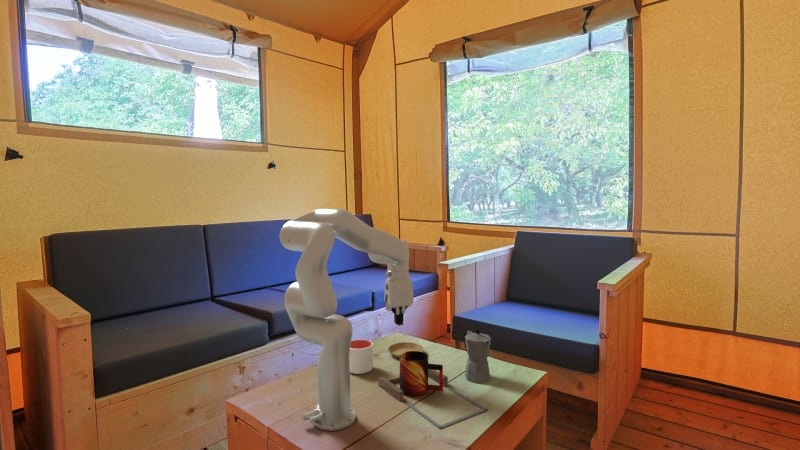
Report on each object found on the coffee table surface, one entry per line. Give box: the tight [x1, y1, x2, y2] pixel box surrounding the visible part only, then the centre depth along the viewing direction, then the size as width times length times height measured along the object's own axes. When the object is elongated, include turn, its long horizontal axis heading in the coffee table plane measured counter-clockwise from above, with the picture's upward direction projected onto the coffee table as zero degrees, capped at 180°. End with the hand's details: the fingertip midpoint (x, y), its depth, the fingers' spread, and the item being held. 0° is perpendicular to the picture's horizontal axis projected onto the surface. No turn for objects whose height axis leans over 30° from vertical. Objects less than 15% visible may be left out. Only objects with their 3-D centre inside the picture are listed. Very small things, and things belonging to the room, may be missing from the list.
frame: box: [405, 387, 489, 430], centre depth 133 cm, size 19×17×1 cm
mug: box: [399, 351, 444, 398], centre depth 145 cm, size 10×14×12 cm
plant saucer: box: [387, 341, 424, 360], centre depth 177 cm, size 15×15×3 cm
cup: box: [350, 339, 374, 375], centre depth 161 cm, size 10×10×10 cm
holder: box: [377, 369, 449, 402], centre depth 148 cm, size 20×14×3 cm
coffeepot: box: [462, 328, 492, 384], centre depth 154 cm, size 15×9×18 cm, turn 26°
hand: (398, 324), depth 154 cm, fingers closed
